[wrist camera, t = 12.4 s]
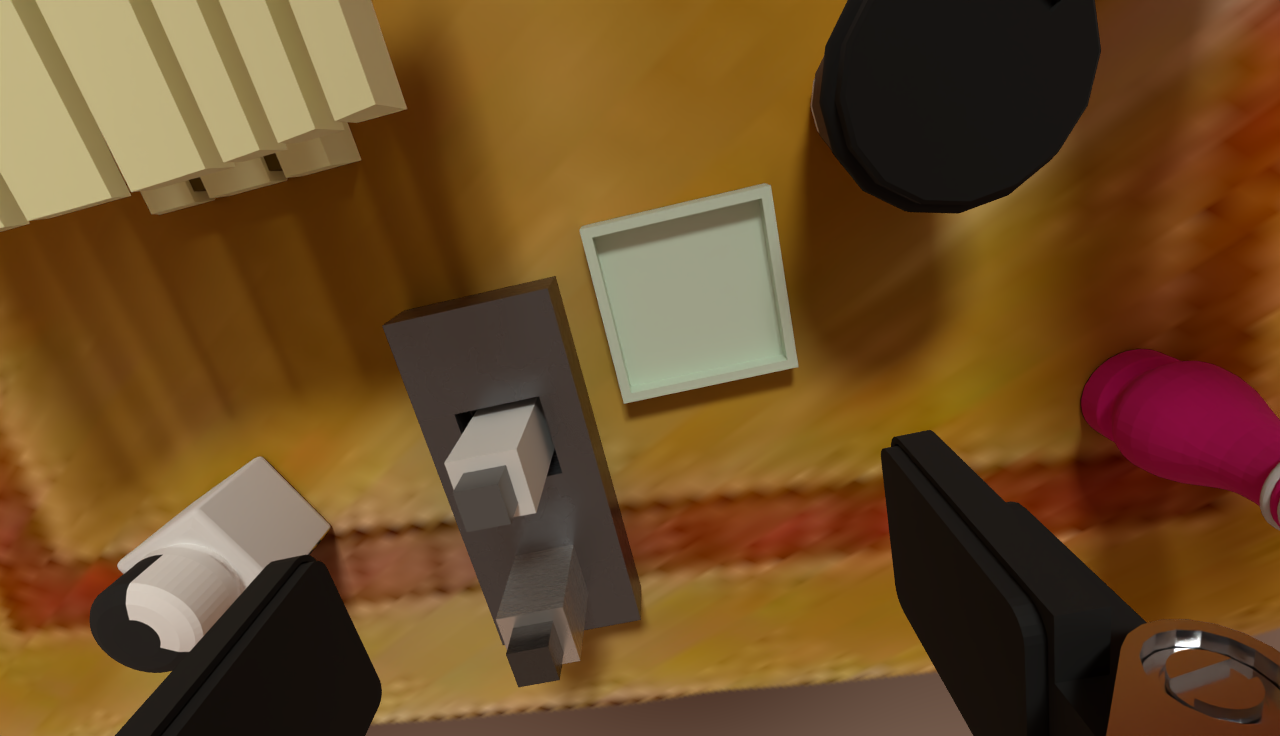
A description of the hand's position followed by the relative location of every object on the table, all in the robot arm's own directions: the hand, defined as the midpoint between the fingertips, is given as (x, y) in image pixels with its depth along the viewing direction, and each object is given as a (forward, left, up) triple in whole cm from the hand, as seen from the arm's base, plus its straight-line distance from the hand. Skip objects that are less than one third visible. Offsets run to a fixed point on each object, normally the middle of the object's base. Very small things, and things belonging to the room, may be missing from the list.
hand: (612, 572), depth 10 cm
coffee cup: (-6, +15, -31) cm, 35 cm away
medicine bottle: (+12, -30, -31) cm, 44 cm away
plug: (+9, -10, -29) cm, 32 cm away
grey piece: (+12, -10, -30) cm, 34 cm away
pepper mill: (+16, +30, -31) cm, 46 cm away
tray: (+3, +3, -30) cm, 31 cm away
